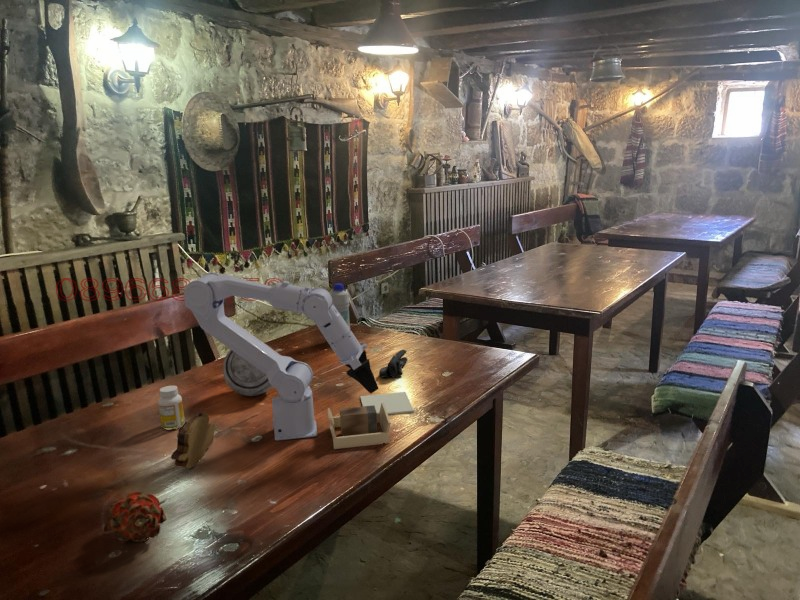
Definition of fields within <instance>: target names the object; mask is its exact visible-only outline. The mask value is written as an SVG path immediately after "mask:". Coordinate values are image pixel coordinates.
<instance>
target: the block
mask: <svg viewBox="0 0 800 600" xmlns="http://www.w3.org/2000/svg"><path fill="white" fill-rule="evenodd" d="M339 416H340V424H341V427H340V434H341V436H340V437H342V436H351V435H361V434H370V433H378V423H377V412H376V409H375V406H374V405H373V406H355V407H354V406H353V407H344V408H339Z"/></svg>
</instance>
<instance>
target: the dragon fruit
mask: <svg viewBox="0 0 800 600" xmlns="http://www.w3.org/2000/svg"><path fill="white" fill-rule="evenodd" d="M164 511H165V510H164V509H163V508H162V507H161V503H160V499H158V497H157V496H156V495H154V494H152V493H148V494H147V495H145V494H144V493H143V492H141V491H139V490H138V491H130V492H127V494H126V498H125V499H124V498H123V499H120V500H118V501H117V502H114V503H112V504H111V507H110V509H109V514H108V515H107V516H105V519H104V520H108V519H109V518H110V517H111V516H112V518H111V519H109V521H108V522H107V523H102V524H101V525H102V526H101V528H102V531H103V532H104V533H108V532H113V531H114V532H117V531H118V532H117V539H118V540H119V541H120V542H125V541H126V542H128V541H130V540H132V541H133V542H134V543H137V542H138V543H141V542H145V540H146V541H148V540H147V538H149V537H150V538H151V539H153V538H155V537H157V536H158V535H159V534H160V531H161V524H164V522H166V521H167V518H166V515H165V512H164ZM150 538H149V539H150ZM129 539H130V540H129Z"/></svg>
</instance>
